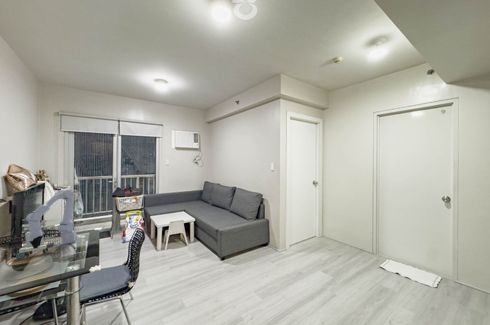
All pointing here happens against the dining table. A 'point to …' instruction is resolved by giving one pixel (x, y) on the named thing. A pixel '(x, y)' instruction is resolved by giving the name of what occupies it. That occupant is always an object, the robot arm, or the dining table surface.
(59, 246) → the mat
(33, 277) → the dining table surface
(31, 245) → the supplement box
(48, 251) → the board
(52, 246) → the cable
